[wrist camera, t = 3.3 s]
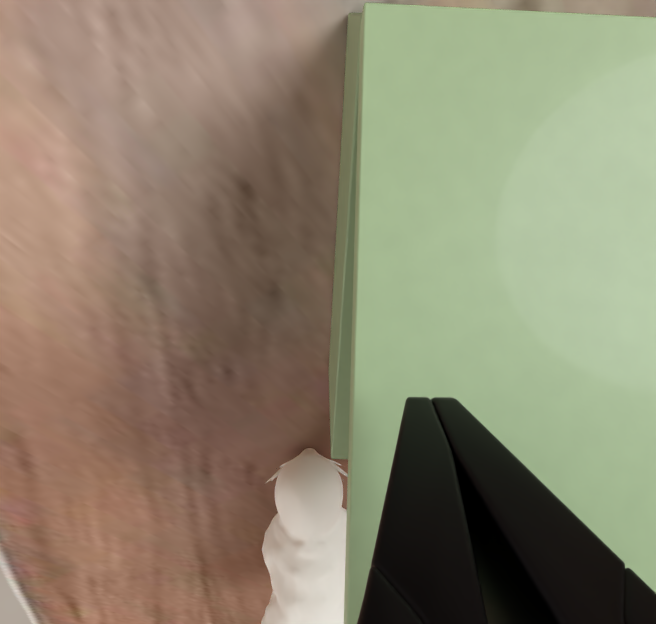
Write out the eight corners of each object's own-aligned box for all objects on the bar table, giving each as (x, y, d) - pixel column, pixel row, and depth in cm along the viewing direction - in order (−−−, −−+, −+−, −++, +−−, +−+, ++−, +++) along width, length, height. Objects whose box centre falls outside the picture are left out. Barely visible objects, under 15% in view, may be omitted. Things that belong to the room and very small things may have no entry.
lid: (848, 713, 12) (887, 744, 11) (340, 715, 11) (342, 746, 10) (873, 48, 11) (916, 29, 11) (360, 23, 11) (363, 1, 10)
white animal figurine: (258, 702, 25) (228, 560, 20) (273, 557, 33) (254, 425, 27) (375, 699, 25) (377, 554, 20) (362, 554, 33) (362, 421, 27)
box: (567, 375, 25) (627, 464, 20) (328, 369, 24) (330, 459, 19) (708, 30, 16) (875, 38, 11) (348, 12, 16) (360, 13, 11)
